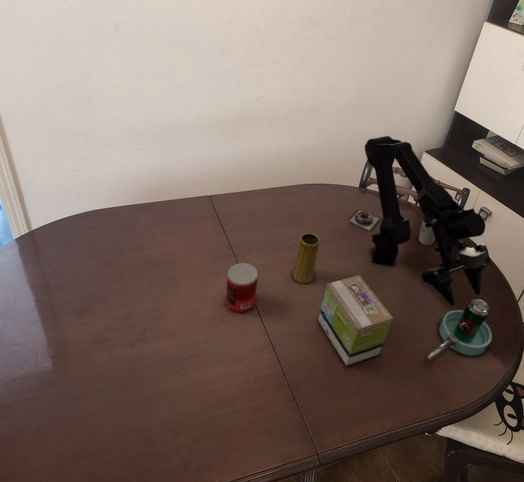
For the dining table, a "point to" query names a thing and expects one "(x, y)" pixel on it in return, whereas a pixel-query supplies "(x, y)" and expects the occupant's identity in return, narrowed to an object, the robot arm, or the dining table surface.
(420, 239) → the coffee cup
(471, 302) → the soda can
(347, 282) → the tea box
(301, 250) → the vase
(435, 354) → the pan handle
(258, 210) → the dining table surface
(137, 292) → the dining table surface
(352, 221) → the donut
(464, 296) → the dining table surface
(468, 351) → the pan
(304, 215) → the dining table surface
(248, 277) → the canned food
